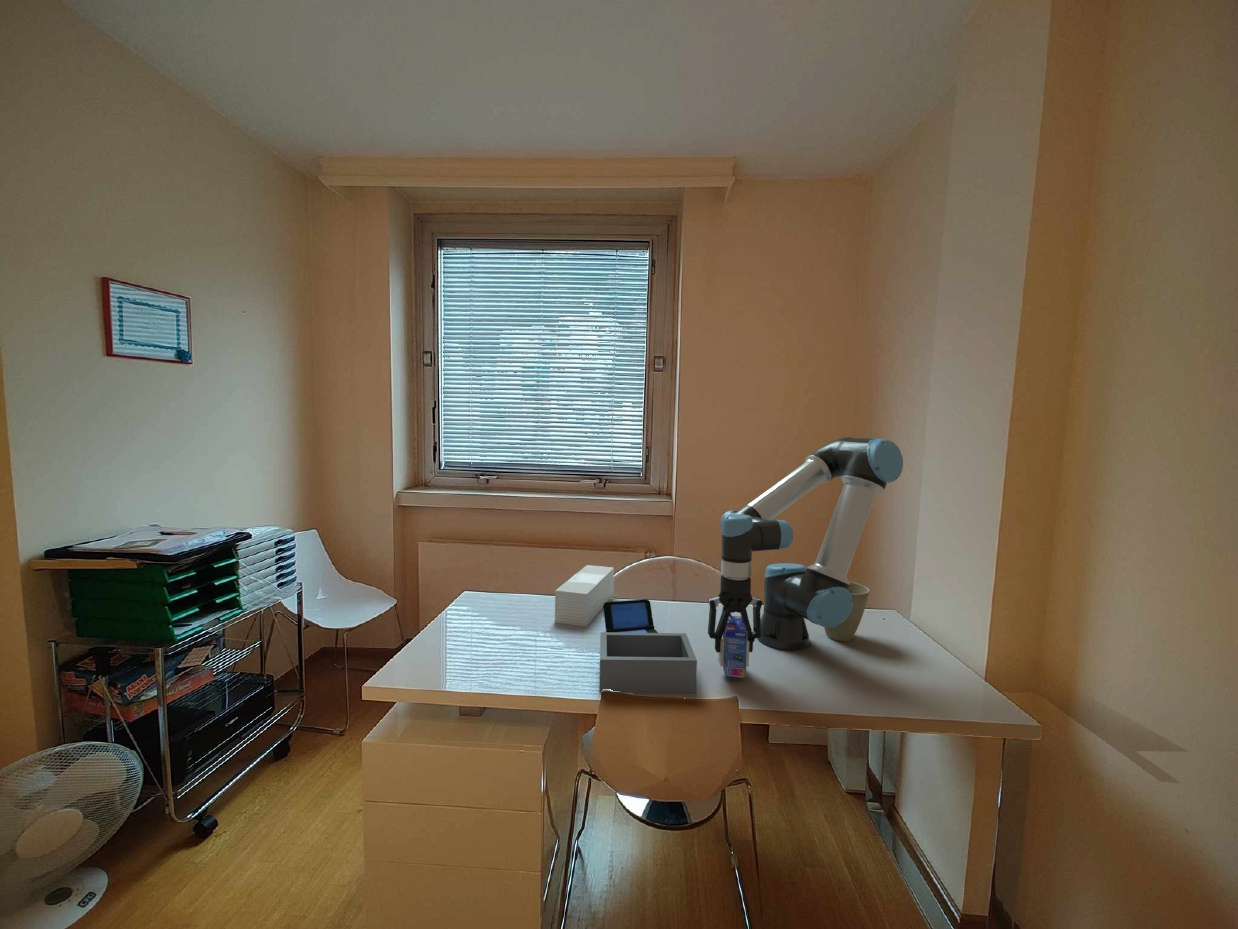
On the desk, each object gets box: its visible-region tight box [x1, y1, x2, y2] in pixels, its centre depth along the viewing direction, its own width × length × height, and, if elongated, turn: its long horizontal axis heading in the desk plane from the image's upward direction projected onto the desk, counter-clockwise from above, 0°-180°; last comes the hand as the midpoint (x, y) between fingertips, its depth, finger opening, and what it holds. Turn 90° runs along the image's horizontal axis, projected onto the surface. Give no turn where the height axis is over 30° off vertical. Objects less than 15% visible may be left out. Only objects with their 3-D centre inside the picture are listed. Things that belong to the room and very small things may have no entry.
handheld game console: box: [602, 598, 659, 633], centre depth 153 cm, size 16×13×9 cm
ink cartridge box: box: [722, 613, 747, 679], centre depth 131 cm, size 10×6×14 cm, turn 174°
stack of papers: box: [554, 564, 615, 628], centre depth 177 cm, size 32×11×11 cm, turn 165°
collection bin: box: [598, 631, 698, 694], centre depth 129 cm, size 23×16×8 cm
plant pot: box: [823, 581, 870, 642], centre depth 157 cm, size 15×15×16 cm
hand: (733, 663), depth 131 cm, fingers closed on ink cartridge box, 6 cm apart
